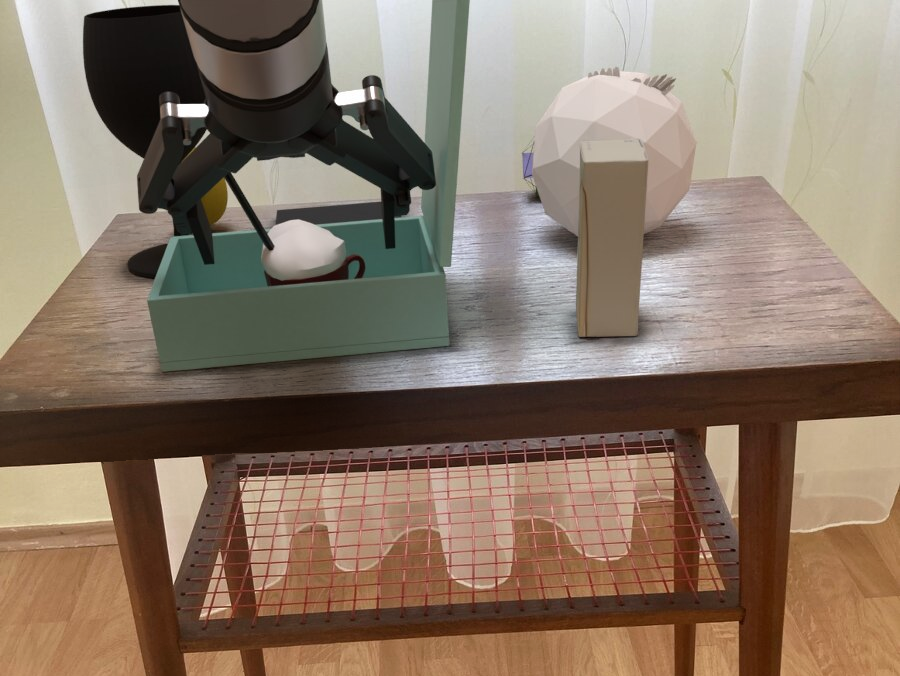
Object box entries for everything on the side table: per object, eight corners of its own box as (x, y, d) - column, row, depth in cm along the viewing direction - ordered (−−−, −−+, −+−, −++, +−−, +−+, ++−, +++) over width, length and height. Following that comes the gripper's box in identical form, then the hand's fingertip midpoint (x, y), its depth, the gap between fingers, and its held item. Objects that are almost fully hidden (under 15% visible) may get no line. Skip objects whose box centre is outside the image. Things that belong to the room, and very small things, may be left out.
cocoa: (369, 295, 87) (353, 133, 80) (366, 323, 81) (349, 152, 75) (249, 303, 87) (223, 141, 80) (238, 331, 82) (209, 161, 75)
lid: (463, -99, 64) (537, -93, 64) (437, -105, 77) (500, -100, 77) (439, 267, 75) (502, 269, 76) (420, 209, 88) (475, 211, 89)
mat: (274, 253, 100) (273, 244, 100) (278, 218, 110) (276, 209, 110) (406, 241, 101) (405, 233, 100) (397, 208, 111) (397, 199, 110)
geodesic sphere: (744, 148, 98) (652, 7, 94) (737, 189, 87) (632, 31, 83) (607, 248, 106) (517, 122, 102) (585, 298, 95) (482, 158, 90)
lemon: (194, 223, 110) (178, 138, 106) (243, 225, 108) (230, 139, 104) (165, 239, 106) (148, 151, 101) (216, 241, 104) (201, 152, 100)
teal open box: (162, 372, 78) (146, 299, 75) (183, 300, 90) (170, 236, 87) (449, 346, 79) (445, 273, 76) (430, 279, 91) (426, 215, 89)
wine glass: (107, 263, 100) (50, 16, 89) (205, 237, 106) (164, 1, 94) (163, 287, 93) (110, 23, 82) (266, 257, 99) (229, 6, 88)
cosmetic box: (575, 309, 84) (577, 139, 77) (634, 307, 83) (641, 136, 76) (578, 339, 78) (580, 160, 72) (641, 337, 78) (649, 157, 71)
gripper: (471, -28, 64) (457, 181, 84) (34, 4, 62) (129, 208, 83) (487, 87, 62) (468, 271, 83) (39, 123, 61) (134, 300, 82)
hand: (298, 240), depth 83 cm, fingers open, 13 cm apart
